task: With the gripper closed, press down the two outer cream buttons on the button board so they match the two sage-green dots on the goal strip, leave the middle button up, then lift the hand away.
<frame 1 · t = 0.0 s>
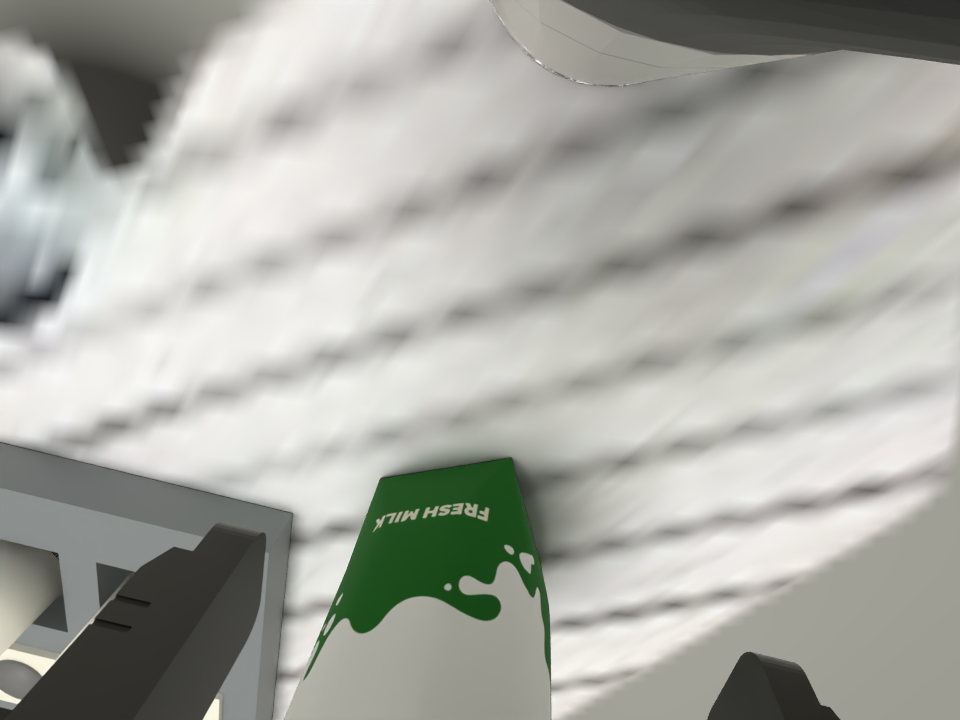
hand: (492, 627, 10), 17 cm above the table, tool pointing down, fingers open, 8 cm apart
goal strip: (25, 672, 35), resting on button board
milk carton: (463, 521, 31), on the table
button board: (55, 573, 35), on the table
button A: (135, 639, 30), point 5 cm above the table, slide at 0.0 cm
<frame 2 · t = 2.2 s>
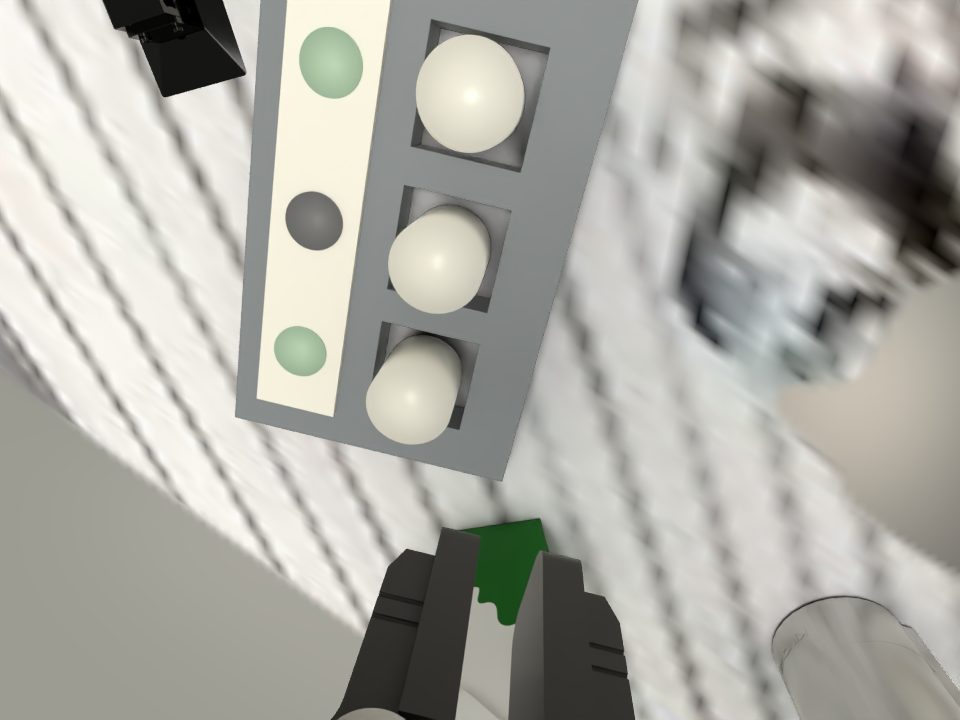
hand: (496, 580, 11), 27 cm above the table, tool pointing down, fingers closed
goal strip: (317, 220, 33), resting on button board
milk carton: (502, 559, 45), on the table
button B: (443, 257, 31), point 5 cm above the table, slide at 0.0 cm
button C: (474, 97, 28), point 5 cm above the table, slide at 0.0 cm
button board: (414, 231, 36), on the table
button A: (417, 387, 35), point 4 cm above the table, slide at 0.0 cm
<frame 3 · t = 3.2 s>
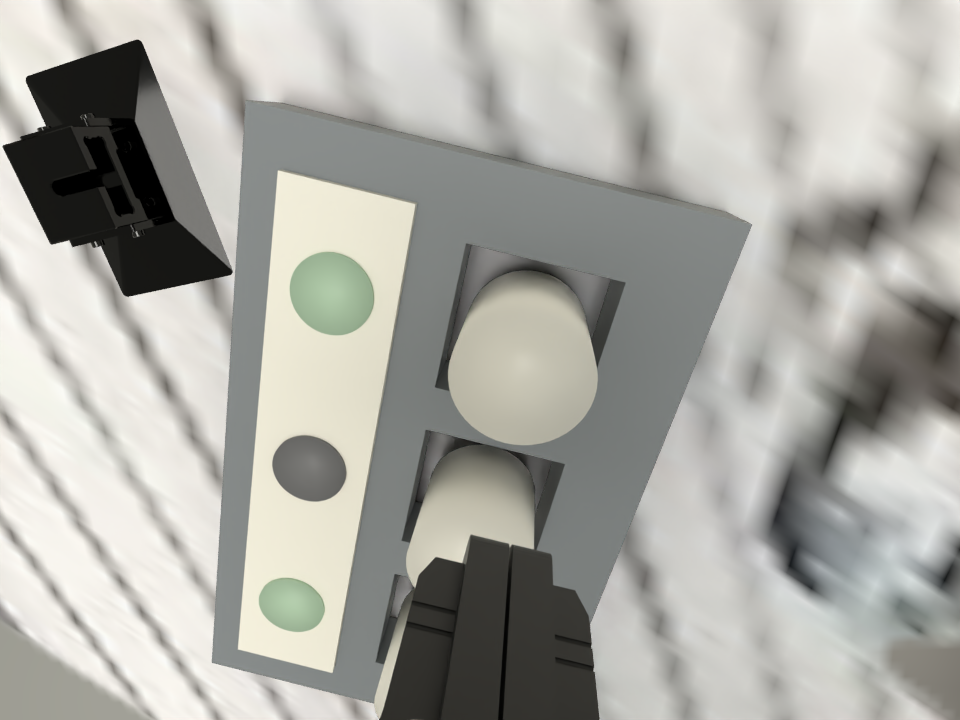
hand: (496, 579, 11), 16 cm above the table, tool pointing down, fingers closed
goal strip: (313, 462, 26), resting on button board
black boxy piece: (142, 176, 25), on the table
button B: (476, 526, 24), point 5 cm above the table, slide at 0.0 cm
button C: (524, 351, 21), point 5 cm above the table, slide at 0.0 cm
button board: (435, 454, 28), on the table
button A: (438, 660, 27), point 5 cm above the table, slide at 0.0 cm
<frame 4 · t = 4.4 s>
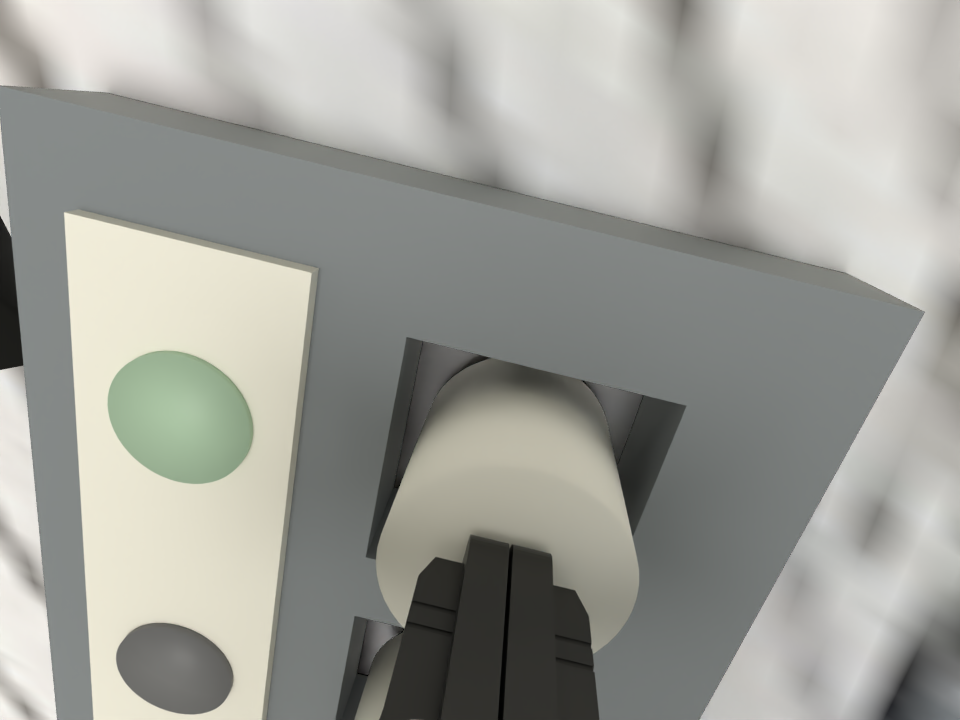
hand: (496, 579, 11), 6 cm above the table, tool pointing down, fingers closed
goal strip: (185, 654, 16), resting on button board
button C: (511, 497, 13), point 3 cm above the table, slide at 1.1 cm, touching gripper
button board: (383, 614, 19), on the table
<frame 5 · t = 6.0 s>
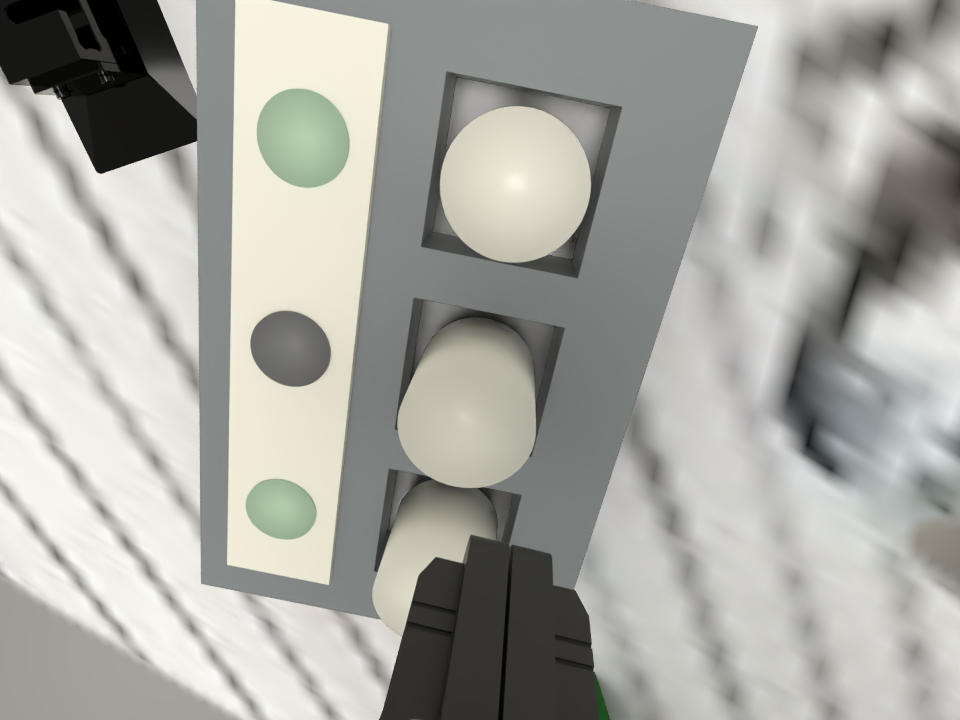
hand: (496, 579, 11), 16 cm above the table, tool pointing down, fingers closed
goal strip: (295, 345, 24), resting on button board
black boxy piece: (110, 32, 23), on the table
button B: (472, 397, 22), point 5 cm above the table, slide at 0.0 cm
button C: (516, 180, 21), point 3 cm above the table, slide at 1.7 cm
button board: (427, 342, 27), on the table
button A: (440, 557, 26), point 5 cm above the table, slide at 0.0 cm
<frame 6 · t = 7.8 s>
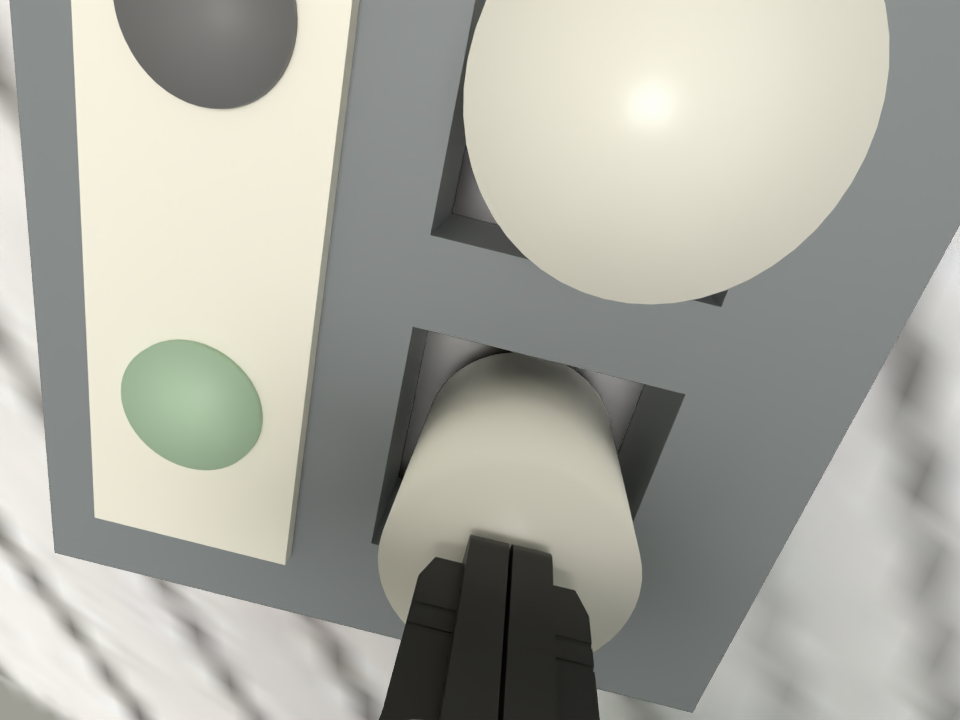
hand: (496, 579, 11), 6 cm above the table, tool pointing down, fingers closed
goal strip: (220, 13, 11), resting on button board
button B: (635, 111, 9), point 5 cm above the table, slide at 0.0 cm
button board: (499, 88, 13), on the table
button A: (513, 494, 13), point 4 cm above the table, slide at 0.8 cm, touching gripper
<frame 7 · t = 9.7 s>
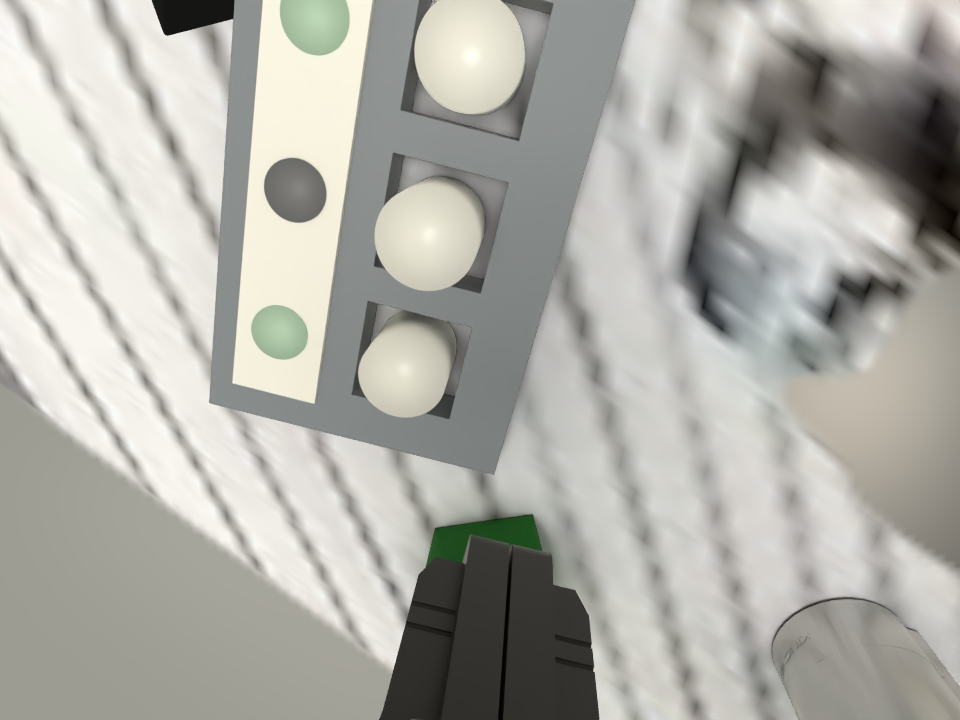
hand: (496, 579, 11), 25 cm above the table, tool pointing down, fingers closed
goal strip: (298, 189, 30), resting on button board
milk carton: (493, 557, 43), on the table
button B: (434, 230, 29), point 5 cm above the table, slide at 0.0 cm
button C: (474, 59, 28), point 3 cm above the table, slide at 1.7 cm
button board: (403, 206, 33), on the table
button A: (410, 360, 34), point 3 cm above the table, slide at 1.7 cm
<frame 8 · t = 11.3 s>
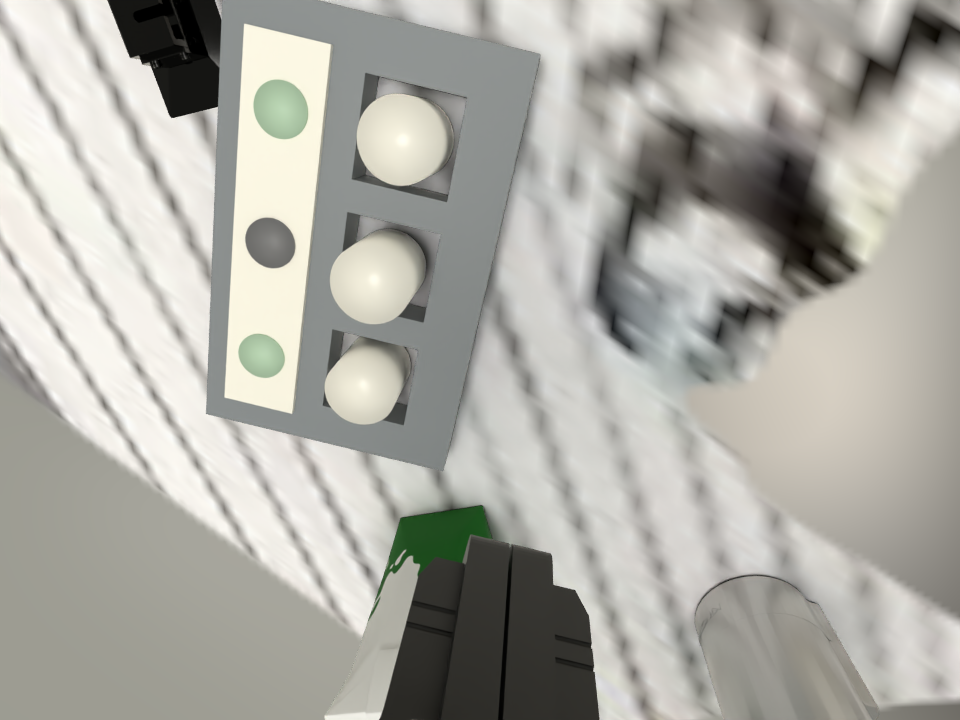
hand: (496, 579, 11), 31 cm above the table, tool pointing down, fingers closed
goal strip: (273, 241, 38), resting on button board
black boxy piece: (185, 28, 37), on the table
milk carton: (451, 542, 50), on the table
button B: (380, 274, 36), point 5 cm above the table, slide at 0.0 cm
button C: (408, 139, 35), point 3 cm above the table, slide at 1.7 cm
button board: (361, 250, 40), on the table
button A: (370, 377, 41), point 3 cm above the table, slide at 1.7 cm
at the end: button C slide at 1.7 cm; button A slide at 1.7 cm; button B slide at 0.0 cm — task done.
